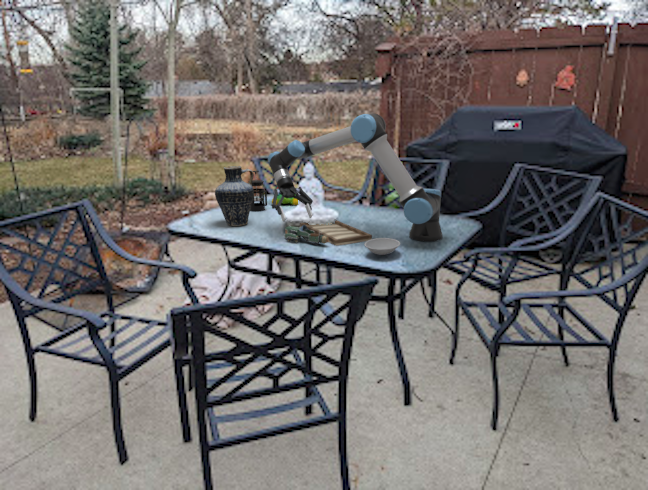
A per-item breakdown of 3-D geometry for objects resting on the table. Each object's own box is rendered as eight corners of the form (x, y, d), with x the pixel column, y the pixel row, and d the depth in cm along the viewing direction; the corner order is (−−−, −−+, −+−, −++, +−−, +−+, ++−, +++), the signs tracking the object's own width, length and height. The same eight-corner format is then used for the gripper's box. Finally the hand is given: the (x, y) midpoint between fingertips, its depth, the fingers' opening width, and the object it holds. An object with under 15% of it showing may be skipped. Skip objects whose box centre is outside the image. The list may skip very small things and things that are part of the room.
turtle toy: (300, 199, 323) (299, 181, 320) (298, 207, 301) (298, 187, 297) (274, 199, 323) (273, 181, 319) (270, 207, 300) (270, 187, 297)
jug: (228, 231, 246) (225, 170, 238) (210, 224, 261) (206, 166, 252) (264, 224, 259) (261, 166, 250) (244, 218, 273) (241, 163, 265)
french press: (245, 210, 291) (243, 171, 284) (253, 207, 299) (251, 169, 292) (262, 212, 286) (261, 172, 279) (270, 209, 294) (269, 170, 288)
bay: (371, 240, 230) (371, 234, 229) (336, 245, 221) (336, 240, 220) (332, 223, 261) (332, 218, 260) (299, 227, 252) (299, 222, 252)
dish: (390, 263, 198) (390, 251, 196) (357, 258, 204) (357, 246, 203) (405, 251, 213) (406, 240, 211) (374, 247, 219) (374, 236, 218)
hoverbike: (292, 236, 238) (291, 219, 235) (334, 244, 223) (334, 227, 221) (278, 240, 230) (278, 223, 228) (322, 250, 216) (322, 231, 214)
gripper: (305, 183, 245) (319, 219, 237) (257, 187, 234) (270, 225, 226) (309, 174, 239) (324, 210, 231) (261, 178, 228) (274, 216, 220)
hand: (297, 218), depth 228 cm, fingers open, 13 cm apart
